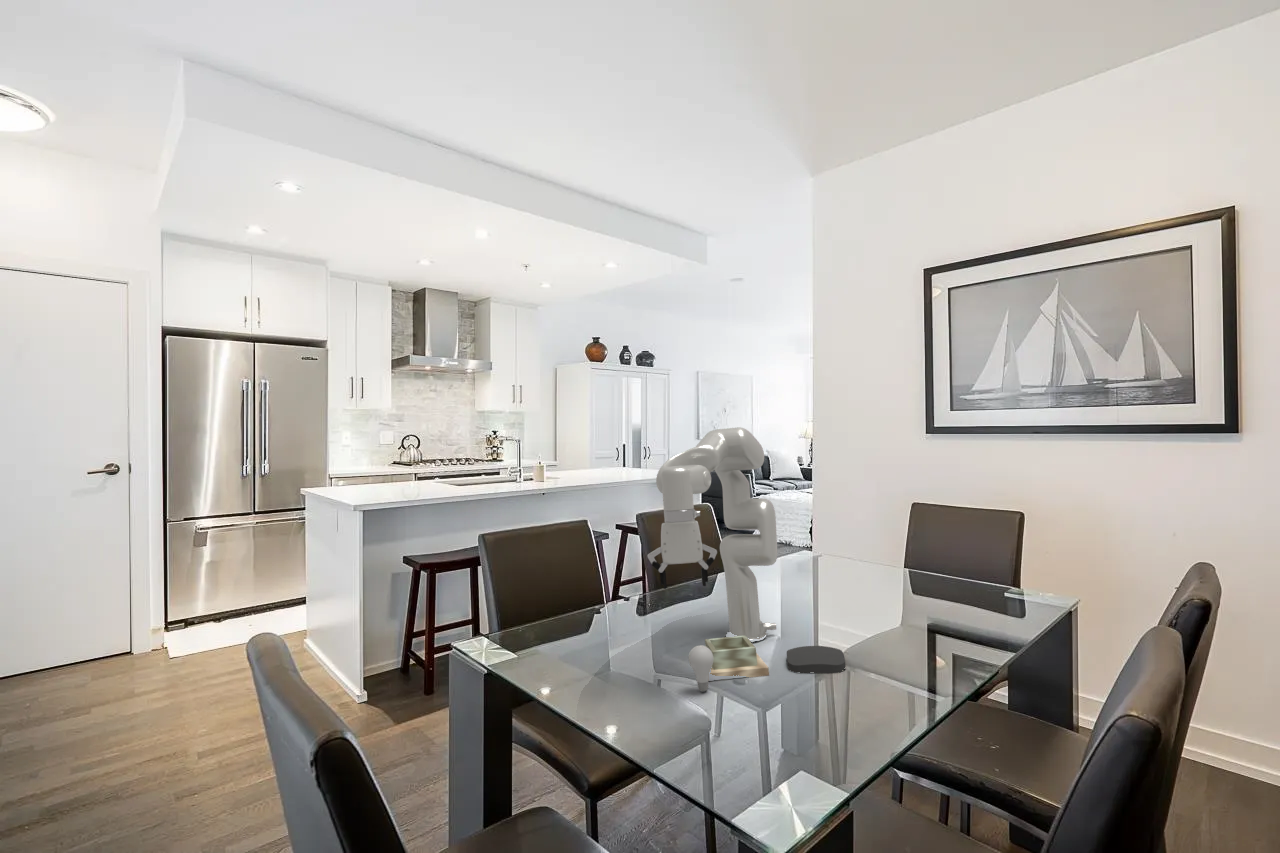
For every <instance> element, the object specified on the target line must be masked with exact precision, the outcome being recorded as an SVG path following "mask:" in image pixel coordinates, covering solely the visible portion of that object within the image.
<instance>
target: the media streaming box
mask: <svg viewBox="0 0 1280 853" xmlns="http://www.w3.org/2000/svg"><path fill="white" fill-rule="evenodd" d="M845 657H846V656H845V654H844V652H843V651H842V649H840V648H836V647H831V646H823V645H804V646H798V647H797V646H796V647H793V648H790V649H788V650H786V660H787V661H786V662H787V668H788V670H789V671H790V670H791V672H792V671H794V672H793V673H795V672H800V673H799V674H811V673H810V672H814V673H813V674H837V673H838V672H839V673H842V672H843V671H842V670H843V669H844V668H845V667H846V665H847V664H846V658H845ZM846 668H847V667H846ZM841 671H842V672H841Z"/></svg>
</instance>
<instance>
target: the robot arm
mask: <svg viewBox="0 0 1280 853" xmlns="http://www.w3.org/2000/svg"><path fill="white" fill-rule="evenodd" d="M764 462H765V452H764V448H763V447H762V445H761V443H760V441H759V440H758V439H757V437H755V436H754V435H753V433H751V431H749V430H748V429H747V428H745V427H741V426H740V427H730V428H719V429H713V430H710V431H708V432H707V433H706V434H705V435H703V438H702V439H701V440H700V441H699V442H698V443H697V444H696V445H695V446H694V447H692V448H690V449H687V450H685V451H683V452H682V451H681V453H678V454H676V455H674V456H671V457H670V458H668V459H666V461H665V462H664V463H663V464H662V465H661V467H660V468H659V469H658V471H657V474H656V479H655V480H656V481H655V483H656V487H657V489H658V491H659V492H660V493H661V494H662V502H663V503H662V505H663V517H664V522H662V523H661V527H660V528H661V529H660V547H657V548H655V550H653V551H651V552H650V553H648V554H647V559H648V560H649V562H650V564H651V565H652V567H653V568H654V569H656V570H657V571H658V573H659V575H660V576H659V577H660V578H659V579H660V586H663V589H664V590H666V589H667V587H668V585H667V584H668V583H667V575H666V568H667V567H668V565H680V564H681V565H683V564H691V563H693V564H694V563H698V564H699V565H700V566H701V568H700V574H701V584H702V586H703V587H706V586H707V583H709V572H708V569H709V567H710V566H711V565H712V564H713V563H714V561H715V559H716V556H717V554H718V550H717V549H715V548H714V547H711V546H708V545H706V544H705V543H703V542H702V534H701V530H700V525H699V522H698V520H695V519H696V518H697V517H701V510H696V509H695V507H694V506H695V505H694V495H699V494H704V493H705V492H707V491H708V490H709V489H710V487H711V484H712V475H711V473H712V472H715V473H716V475H717V477H718V479H719V480H720V483H721V487H722V504H723V505H722V506H723V522H724V525H725V526H726V528H728V529H729V530H733V531H734V530H736V531H749V530H751V531H754V530H755V531H756V530H758V532H759V533H755V534H752V533H751V534H748V533H745V534H743V533H740V534H738V533H736V534H729V535H726V536H724V537H723V538H722V539H721V541H720V544H719V552H720V553H719V554H720V558H721V560H722V565H723V572H724V578H725V588H726V600H727V613H728V623H729V624H728V626H729V631H730V632H731V633H732V634H734V635H737V636H744V635H745V636H746V637H747V638H749V640H753V639H760V638H762V637H764V636H765V635H767V631H769V630H770V631H774V630H775V631H776V630H777V624H776V622H773V623H771V622H768V621H767V622H763V621H761V615H760V614H761V613H760V604H759V591H758V582H757V578H756V575H755V574H754V571H753V570H752V569H751V568H750V567H751V566H753V567H762V566H764V567H765V566H766V567H769V566H773V565H775V563H776V562H777V560H778V535H777V520H776V510H775V506H774V505H773V503H772V502H771V501H770V499H767V498H751V490H750V489H751V488H750V486H751V485H750V482H749V480H748V478H747V477H746V476H745V474H744V473H743V472H742V471H749V470H750V471H751V470H758V469H759V468H761V467H762V466H763V464H764ZM703 551H705V552H708V553H710V554H709V556H708V558H707V559H706V560H704V559H703V558H704V552H703ZM660 554H661V558H662V562H661V563H659V562H658V561H657V560H656V559H655V557H656V556H658V555H660ZM757 637H759V638H757Z"/></svg>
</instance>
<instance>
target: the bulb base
mask: <svg viewBox="0 0 1280 853" xmlns="http://www.w3.org/2000/svg"><path fill="white" fill-rule="evenodd" d="M704 643H705V645H704V646H706V647H707V648H709V649H710V650H711V652H712V654H713V658H714V660H713V664H712V668H711V673H710V674H712V675H715V676H733V675H734V676H736V675H737V676H738V675H739V676H746V677H749V678H758V677H759V678H760V677H767V676H770V670H769V669H770V668H769V666H768V665H767V664H766V663H765V661H764V660H763V658H761V656H760V655H759V654H758V653H757V647H756V646H755V645H754V643H751V641H750V640H749V639H748V638H747V637H746V636H745V635H744V636H734V637H715V638H714V637H713V638H706V639H704Z"/></svg>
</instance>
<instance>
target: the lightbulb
mask: <svg viewBox="0 0 1280 853" xmlns="http://www.w3.org/2000/svg"><path fill="white" fill-rule="evenodd" d="M687 658H688V664H689V665H690V667H691V669H692V671H693V672H694V676H695V680H696V684H697V689H698V690H699V691H701V692H703V691H705V692H706V691H708V689H709V688H710V687H709V682H708V681H709V672H710V669H711V667H712V664H713V660H714V658H713V654H712V652H711V650H710V649H709V648H707V647H706V646H705V645H704V644H703V645H700V644H699V645H696V646H694V647H693V648H691V650H690V651H689V652H688V656H687ZM703 693H704V692H703Z"/></svg>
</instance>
